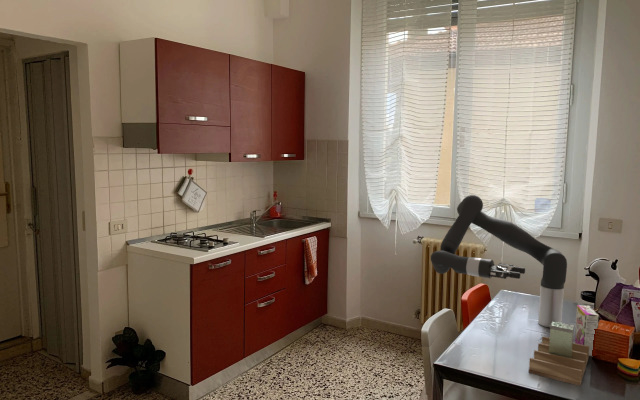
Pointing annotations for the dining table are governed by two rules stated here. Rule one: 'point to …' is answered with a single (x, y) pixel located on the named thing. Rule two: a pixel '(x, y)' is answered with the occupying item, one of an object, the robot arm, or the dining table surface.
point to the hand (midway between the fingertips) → (522, 273)
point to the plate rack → (560, 363)
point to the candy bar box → (586, 326)
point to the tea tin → (561, 339)
